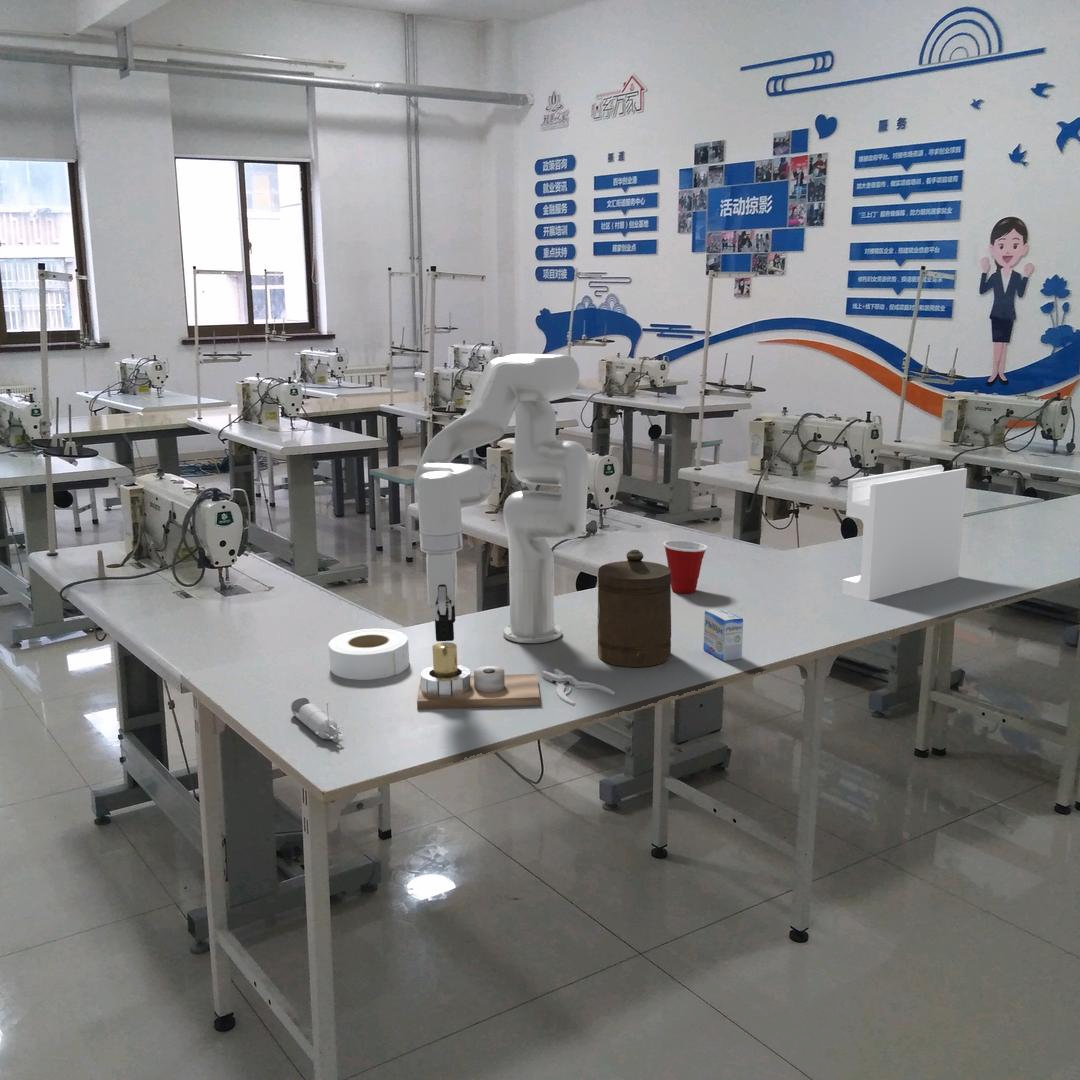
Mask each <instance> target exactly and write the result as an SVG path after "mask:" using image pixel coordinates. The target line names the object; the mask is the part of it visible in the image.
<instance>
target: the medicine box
mask: <svg viewBox="0 0 1080 1080" xmlns="http://www.w3.org/2000/svg"><path fill="white" fill-rule="evenodd" d="M703 623H704V625H703V645H702V648H703V649H702V650H703V651H704V652H705V653H708V654H710V655H712V656H714V657H715V658H717V659H719V660H721V661H723V662H728V661H729V662H730V661H736V660H740V659H742V658H743V639H744V638H743V633H744V619H743V618H742V617H740V616H738V615H736V614H734V613H732V612H730V611H728V610H726V609H724V608H711V609H708V610H707V609H706V610H704V622H703Z"/></svg>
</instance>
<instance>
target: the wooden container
mask: <svg viewBox="0 0 1080 1080" xmlns="http://www.w3.org/2000/svg"><path fill="white" fill-rule="evenodd" d="M626 559H627V560H621V561H612V562H609V563H606V564H603V565H601V566H599V568H598V571H597V572H598V574H597V583H598V584H597V585H598V586H597V624H596V625H597V626H596V627H597V656H598V658H599V659H600V660H601V661H603V662H605V663H608V664H610V665H614V666H618V667H624V668H645V667H646V668H647V667H652V666H653V667H654V666H657V665H661V664H663V663H665V662H667V661H669V659H671V655H672V653H671V652H672V649H671V648H672V641H671V640H672V608H671V607H672V603H671V602H672V600H671V599H672V598H671V597H672V596H671V595H672V593H671V590H672V588H671V570H670V569H669V568H668V565H664V564H661V563H657V562H652V561H643V559H644V553H643V552H642V551H640V550H639V549H631V550H629V551H628V552H627V553H626Z"/></svg>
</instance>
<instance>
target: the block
mask: <svg viewBox="0 0 1080 1080" xmlns="http://www.w3.org/2000/svg"><path fill="white" fill-rule="evenodd" d="M944 469H945V467H944V466H943V465H942V464H935V465H928V466H922V467H917V468H911V469H906V470H898V471H894V472H886V473H882V474H881V473H880V474H875V475H869V476H863V477H855V478H849V479H848V480H847V488H846V489H847V492H846V497H847V499H846V508H845V509H846V511H845V516H846V517H849V518H856V519H859V520H860V522H862V524H863V526H862V528H863V529H862V545H861V562H860V563H861V564H860V574H859V575H855V576H851V577H847V578H844V579H842V584H841V585H842V586H841V588H842V589H841V594H844V595H847V596H851V597H854V598H858V599H861V600H865V601H869V602H871V601H874V600H876V599H881V598H885V597H889V596H891V595H892V596H893V595H896V594H900V593H904V592H906V591H907V592H908V591H911V590H916V589H918V588H923V587H926V586H929V585H930V586H931V585H934V584H938V583H942V582H945V581H950V580H953V579H957V578H959V575H960V562H961V550H962V549H961V548H962V540H963V539H962V537H963V527H964V526H963V524H964V511H965V500H966V485H967V475H968V469H967V468H958V469H952V470H946V471H945V470H944Z"/></svg>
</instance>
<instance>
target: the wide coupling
mask: <svg viewBox="0 0 1080 1080" xmlns="http://www.w3.org/2000/svg"><path fill="white" fill-rule="evenodd" d="M457 668H458V676H457V677H453V678H443V679H440V678H434V669H433V666H428V667H426V668H424V669H422V670H421V672H420V679H421V691H422V692H423V693H425V694H426V695H429V696H434V697H451V696H452V697H454V696H458V695H462V694H465V693H466V692H468V691H469V690H470V689H471V681H470V676H471V669H470V668H468V667H466V666H464V665H460V664H457Z"/></svg>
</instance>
